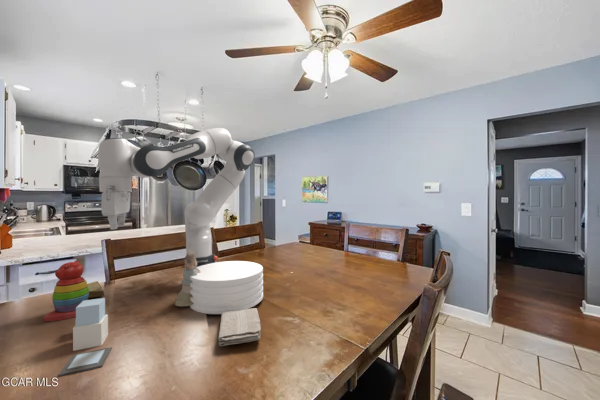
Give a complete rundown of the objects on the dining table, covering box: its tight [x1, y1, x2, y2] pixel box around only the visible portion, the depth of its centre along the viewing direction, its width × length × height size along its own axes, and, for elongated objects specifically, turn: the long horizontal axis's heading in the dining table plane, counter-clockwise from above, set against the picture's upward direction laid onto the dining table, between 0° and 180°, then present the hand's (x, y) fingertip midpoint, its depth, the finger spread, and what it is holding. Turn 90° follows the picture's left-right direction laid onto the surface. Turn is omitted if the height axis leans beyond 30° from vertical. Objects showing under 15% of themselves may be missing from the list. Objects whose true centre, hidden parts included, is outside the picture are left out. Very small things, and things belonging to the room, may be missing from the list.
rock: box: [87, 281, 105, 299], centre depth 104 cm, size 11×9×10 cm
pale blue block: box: [75, 297, 106, 327], centre depth 70 cm, size 5×5×5 cm
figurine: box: [174, 250, 201, 307], centre depth 95 cm, size 9×8×20 cm
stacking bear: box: [43, 260, 89, 322], centre depth 88 cm, size 11×10×18 cm
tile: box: [57, 346, 113, 377], centre depth 62 cm, size 8×8×1 cm
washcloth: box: [218, 307, 262, 347], centre depth 78 cm, size 12×18×3 cm, turn 15°
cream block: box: [72, 313, 109, 351], centre depth 70 cm, size 6×6×6 cm
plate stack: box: [189, 260, 264, 315], centre depth 101 cm, size 28×28×12 cm
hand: (117, 227), depth 86 cm, fingers open, 8 cm apart
